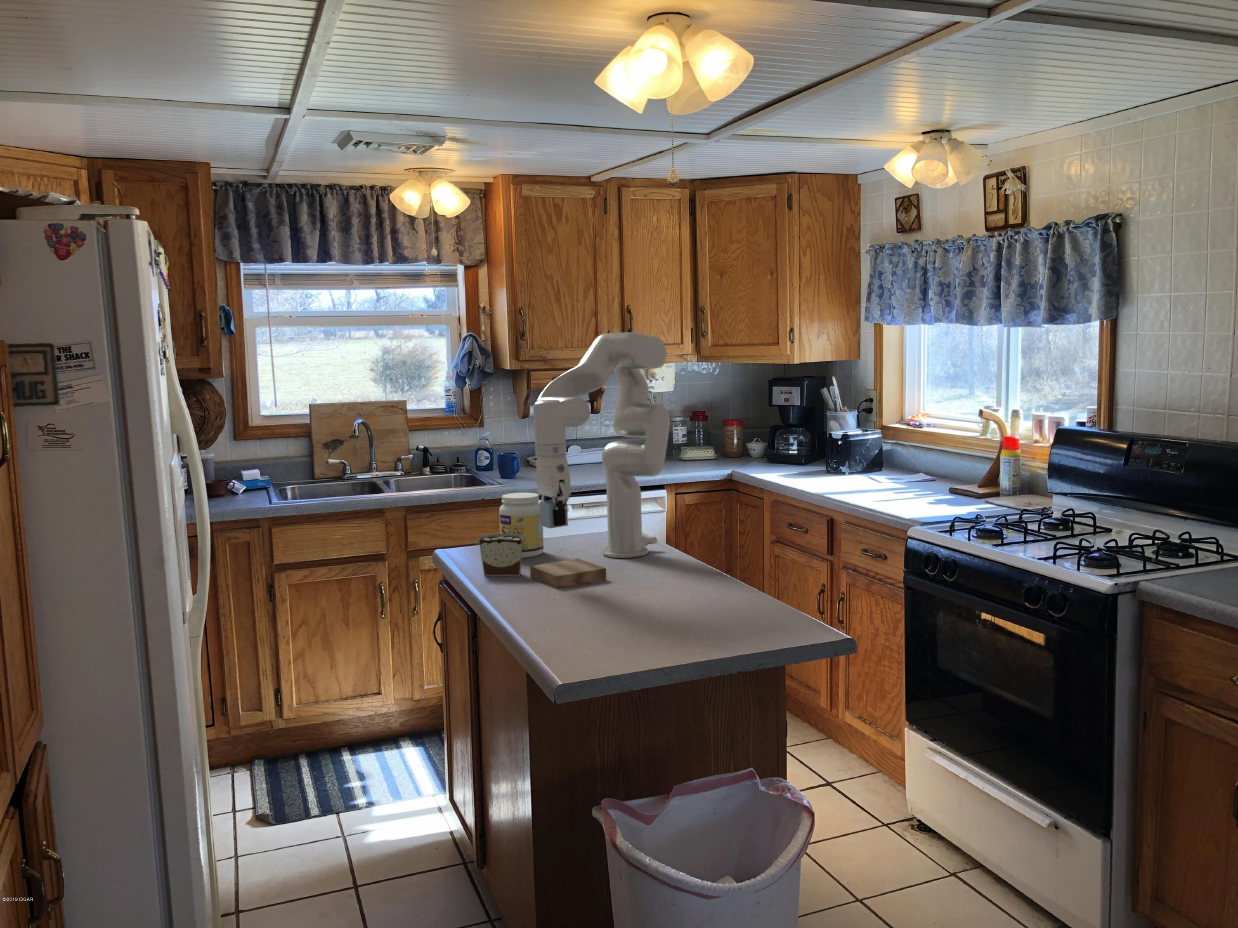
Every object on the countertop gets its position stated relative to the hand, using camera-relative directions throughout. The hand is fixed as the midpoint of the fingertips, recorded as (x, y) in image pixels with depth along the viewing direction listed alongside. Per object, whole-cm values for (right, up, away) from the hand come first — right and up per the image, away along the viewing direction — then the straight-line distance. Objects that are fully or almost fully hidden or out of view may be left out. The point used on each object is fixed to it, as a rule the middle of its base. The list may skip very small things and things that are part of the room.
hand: (554, 522), depth 245 cm
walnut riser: (+3, -14, +4) cm, 15 cm away
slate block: (0, -1, 0) cm, 1 cm away
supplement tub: (-11, -11, +34) cm, 38 cm away
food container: (-14, -14, +12) cm, 23 cm away
